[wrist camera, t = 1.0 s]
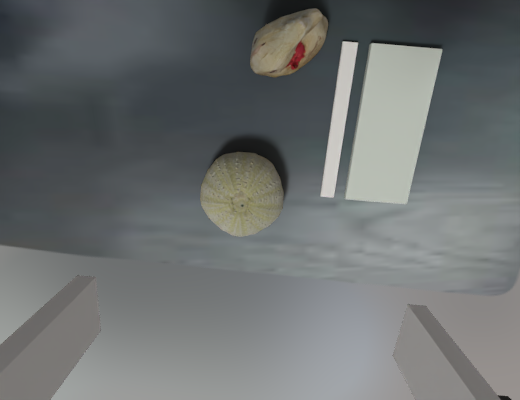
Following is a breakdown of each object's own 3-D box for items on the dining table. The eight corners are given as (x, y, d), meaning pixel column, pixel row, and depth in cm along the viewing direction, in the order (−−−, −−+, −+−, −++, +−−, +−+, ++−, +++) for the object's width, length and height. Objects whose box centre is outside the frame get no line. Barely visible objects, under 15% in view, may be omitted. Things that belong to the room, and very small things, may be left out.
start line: (342, 42, 29) (343, 41, 29) (357, 43, 29) (358, 42, 29) (320, 195, 34) (320, 196, 33) (333, 196, 34) (333, 197, 33)
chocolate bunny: (246, 24, 29) (236, -20, 19) (325, 11, 29) (356, -41, 19) (254, 83, 31) (249, 69, 21) (329, 72, 30) (360, 52, 20)
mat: (369, 44, 29) (371, 42, 29) (439, 50, 29) (442, 49, 29) (343, 197, 34) (345, 199, 33) (404, 202, 34) (406, 204, 33)
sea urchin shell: (289, 147, 30) (287, 216, 27) (280, 186, 37) (278, 245, 34) (201, 139, 30) (187, 208, 27) (209, 180, 37) (199, 239, 33)
